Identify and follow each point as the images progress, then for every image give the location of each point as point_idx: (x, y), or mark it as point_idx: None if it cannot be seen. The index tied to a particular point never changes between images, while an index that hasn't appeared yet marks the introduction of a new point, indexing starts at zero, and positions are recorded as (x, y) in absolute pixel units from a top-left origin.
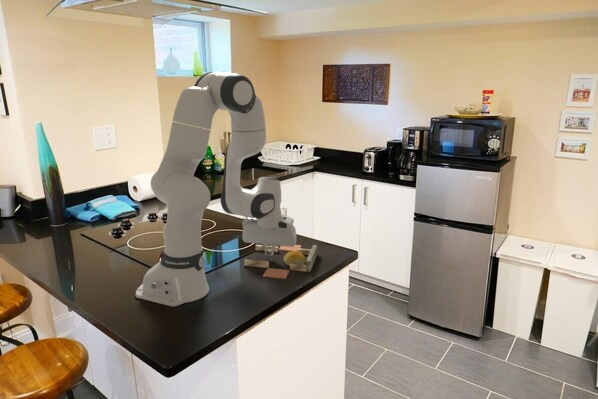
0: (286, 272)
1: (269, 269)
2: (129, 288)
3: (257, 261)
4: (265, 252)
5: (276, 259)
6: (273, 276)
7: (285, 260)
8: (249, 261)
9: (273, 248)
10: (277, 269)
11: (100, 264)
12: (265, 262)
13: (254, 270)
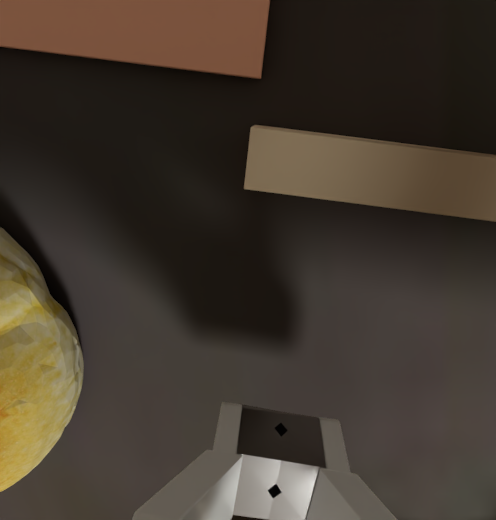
0: None
1: (220, 24)
2: None
3: (458, 167)
4: (335, 444)
5: (187, 383)
6: None
7: (14, 286)
8: None
9: (176, 498)
10: (93, 41)
11: None
12: (303, 137)
13: (471, 3)
